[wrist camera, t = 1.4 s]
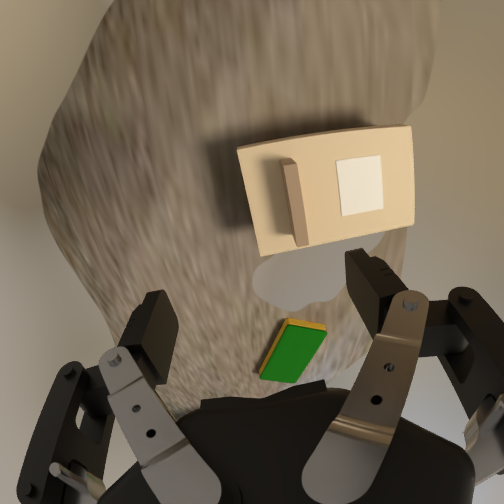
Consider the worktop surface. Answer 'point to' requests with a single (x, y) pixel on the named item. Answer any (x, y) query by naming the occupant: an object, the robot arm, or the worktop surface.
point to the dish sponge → (292, 350)
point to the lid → (329, 185)
